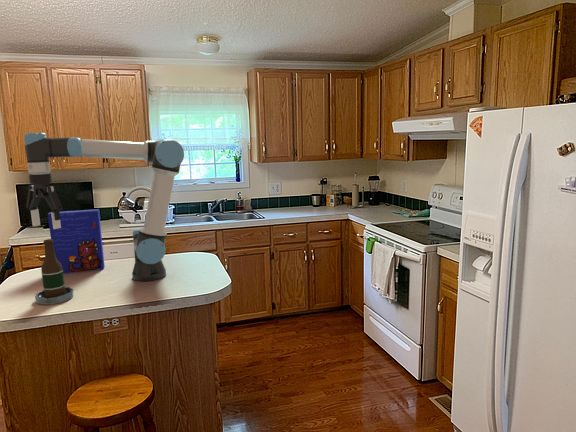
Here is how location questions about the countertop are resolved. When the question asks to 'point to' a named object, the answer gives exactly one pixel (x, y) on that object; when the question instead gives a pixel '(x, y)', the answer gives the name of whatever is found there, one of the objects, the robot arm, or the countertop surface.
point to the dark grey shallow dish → (54, 300)
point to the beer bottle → (52, 272)
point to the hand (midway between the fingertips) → (46, 227)
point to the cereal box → (78, 241)
